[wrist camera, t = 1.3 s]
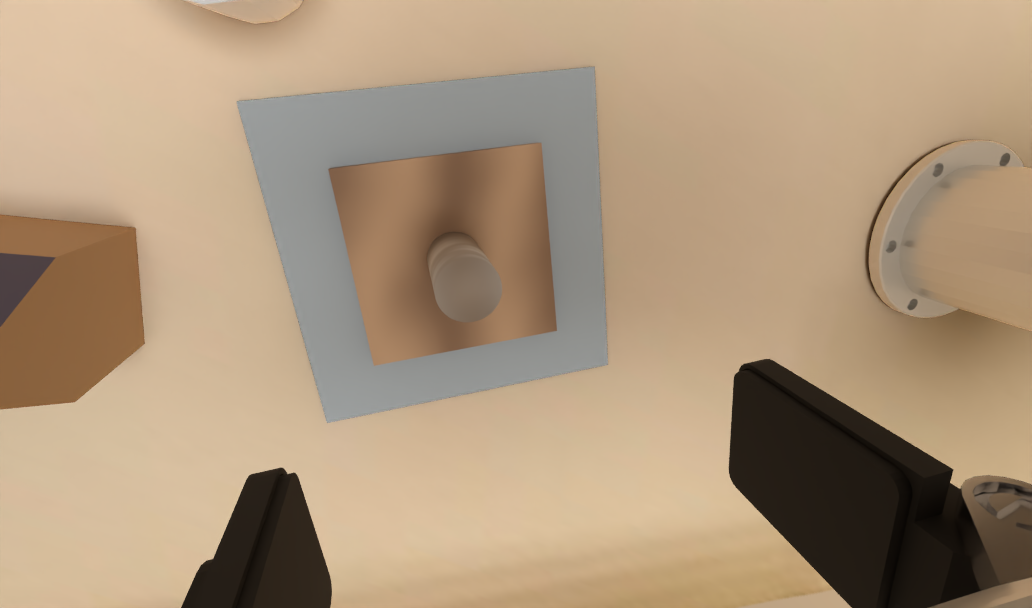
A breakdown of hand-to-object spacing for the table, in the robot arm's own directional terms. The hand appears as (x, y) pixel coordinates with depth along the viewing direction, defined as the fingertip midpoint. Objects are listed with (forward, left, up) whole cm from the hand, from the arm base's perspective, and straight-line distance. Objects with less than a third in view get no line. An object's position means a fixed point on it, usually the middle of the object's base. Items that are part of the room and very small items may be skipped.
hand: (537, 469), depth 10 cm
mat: (0, 0, -20) cm, 20 cm away
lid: (0, 0, -19) cm, 19 cm away
